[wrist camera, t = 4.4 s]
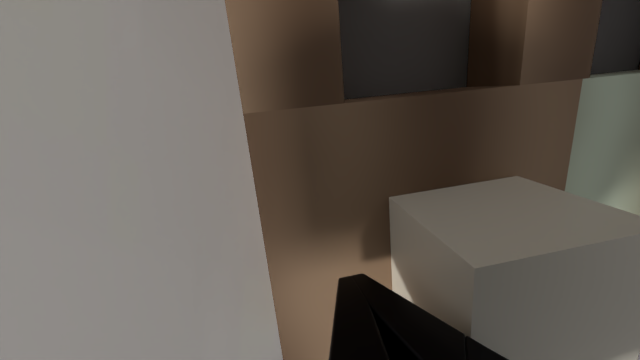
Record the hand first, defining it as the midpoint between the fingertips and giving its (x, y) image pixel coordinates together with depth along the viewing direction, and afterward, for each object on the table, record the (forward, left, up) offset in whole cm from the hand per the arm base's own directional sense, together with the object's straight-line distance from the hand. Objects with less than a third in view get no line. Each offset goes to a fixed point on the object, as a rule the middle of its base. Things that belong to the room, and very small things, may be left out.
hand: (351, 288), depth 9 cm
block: (+4, 0, -1) cm, 4 cm away
